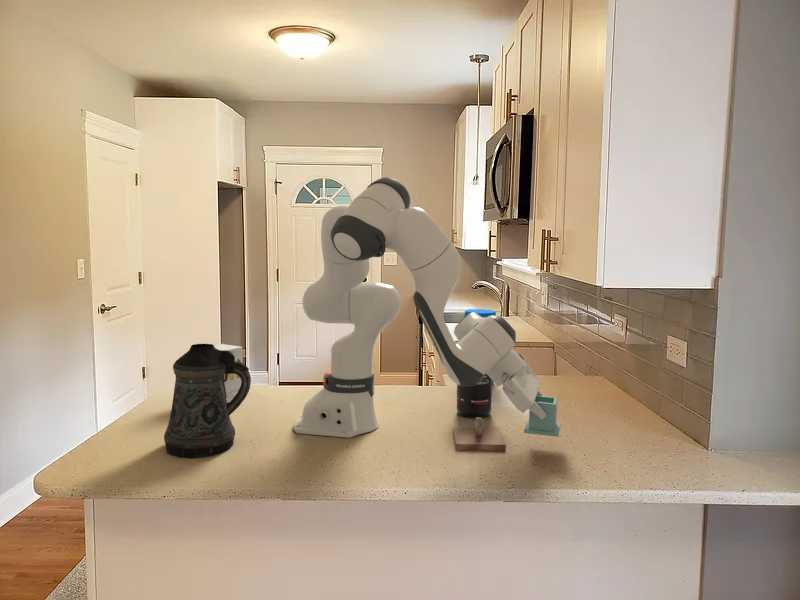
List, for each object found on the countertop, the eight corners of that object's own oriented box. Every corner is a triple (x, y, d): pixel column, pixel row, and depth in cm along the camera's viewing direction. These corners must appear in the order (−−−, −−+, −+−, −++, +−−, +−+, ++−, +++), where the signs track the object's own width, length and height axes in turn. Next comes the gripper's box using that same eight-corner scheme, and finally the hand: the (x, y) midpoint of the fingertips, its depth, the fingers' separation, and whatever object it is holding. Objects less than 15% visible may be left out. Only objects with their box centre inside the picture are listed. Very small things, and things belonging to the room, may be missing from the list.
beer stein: (154, 444, 150) (150, 344, 147) (229, 428, 162) (227, 335, 159) (179, 464, 137) (175, 355, 134) (258, 445, 149) (256, 345, 146)
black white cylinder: (498, 417, 174) (500, 330, 171) (466, 420, 170) (468, 332, 167) (480, 407, 183) (482, 324, 180) (449, 410, 179) (451, 326, 176)
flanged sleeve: (524, 432, 146) (525, 402, 145) (527, 422, 154) (528, 393, 153) (558, 436, 144) (559, 406, 143) (560, 426, 151) (561, 396, 150)
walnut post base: (455, 449, 148) (456, 425, 147) (452, 433, 160) (453, 410, 159) (505, 450, 148) (506, 426, 147) (498, 433, 160) (499, 411, 159)
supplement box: (220, 407, 180) (219, 351, 178) (199, 402, 185) (197, 348, 183) (244, 399, 188) (243, 346, 186) (222, 395, 193) (221, 343, 191)
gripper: (510, 371, 139) (552, 417, 137) (521, 352, 158) (558, 393, 156) (490, 388, 141) (531, 434, 139) (503, 367, 160) (540, 407, 158)
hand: (545, 412), depth 148 cm, fingers closed on flanged sleeve, 6 cm apart
